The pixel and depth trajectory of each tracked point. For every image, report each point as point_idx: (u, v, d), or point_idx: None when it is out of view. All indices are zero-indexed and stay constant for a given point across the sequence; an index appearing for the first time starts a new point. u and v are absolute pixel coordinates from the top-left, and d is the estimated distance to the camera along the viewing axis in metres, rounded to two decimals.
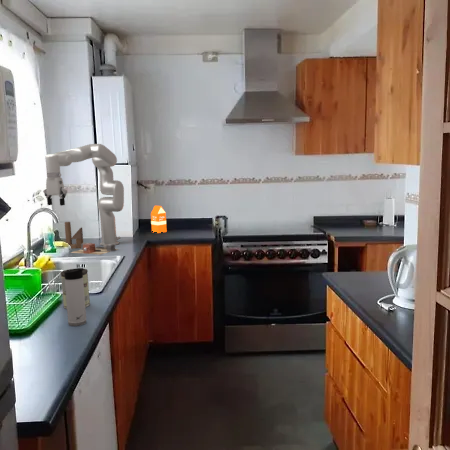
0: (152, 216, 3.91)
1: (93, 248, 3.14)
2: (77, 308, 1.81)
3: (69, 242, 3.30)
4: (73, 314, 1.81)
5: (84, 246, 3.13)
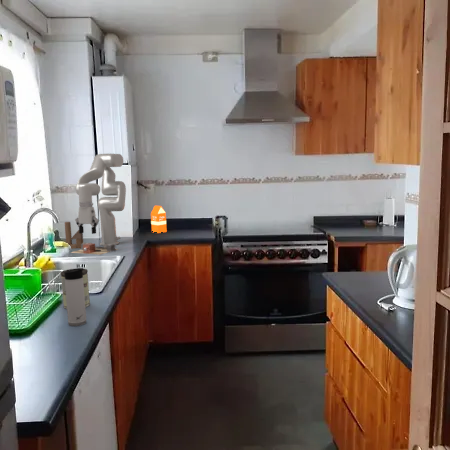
0: (152, 216, 3.91)
1: (93, 248, 3.14)
2: (77, 308, 1.81)
3: (69, 242, 3.30)
4: (73, 314, 1.81)
5: (84, 246, 3.13)
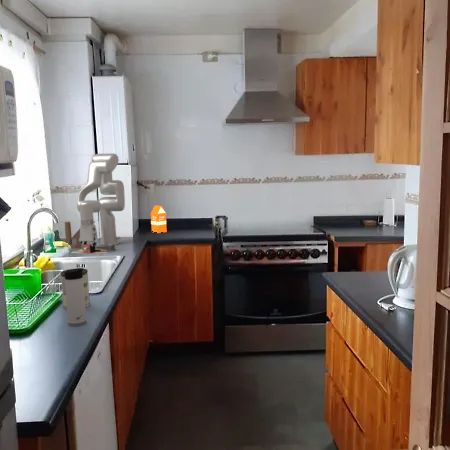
0: (152, 216, 3.91)
1: None
2: (77, 308, 1.81)
3: (69, 242, 3.30)
4: (73, 314, 1.81)
5: (84, 246, 3.13)
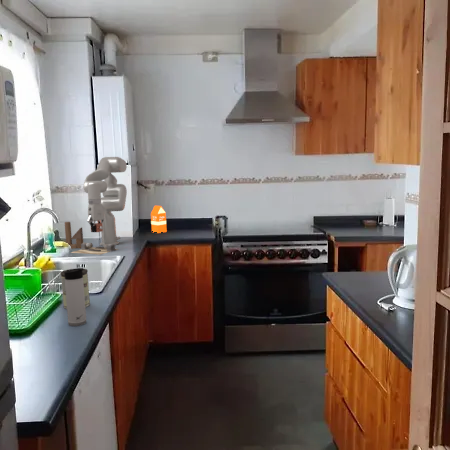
0: (152, 216, 3.91)
1: None
2: (77, 308, 1.81)
3: (69, 242, 3.30)
4: (73, 314, 1.81)
5: None
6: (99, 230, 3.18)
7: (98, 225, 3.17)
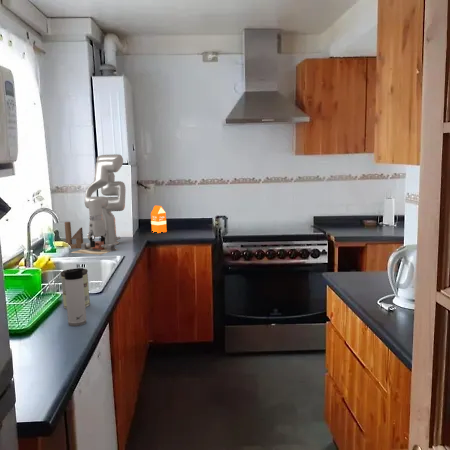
0: (152, 216, 3.91)
1: (96, 246, 3.19)
2: (77, 308, 1.81)
3: (69, 242, 3.30)
4: (73, 314, 1.81)
5: None
6: (100, 248, 3.20)
7: (99, 243, 3.19)
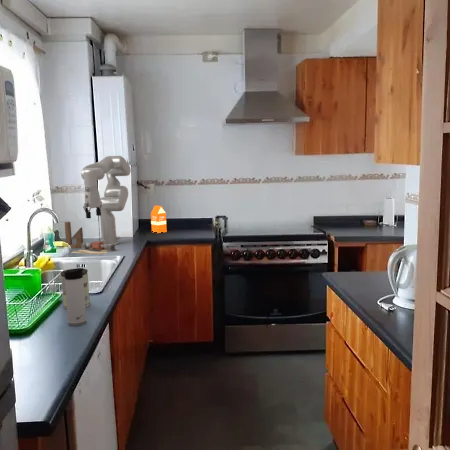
0: (152, 216, 3.91)
1: (96, 246, 3.19)
2: (77, 308, 1.81)
3: (69, 242, 3.30)
4: (73, 314, 1.81)
5: None
6: (100, 248, 3.20)
7: (99, 243, 3.19)
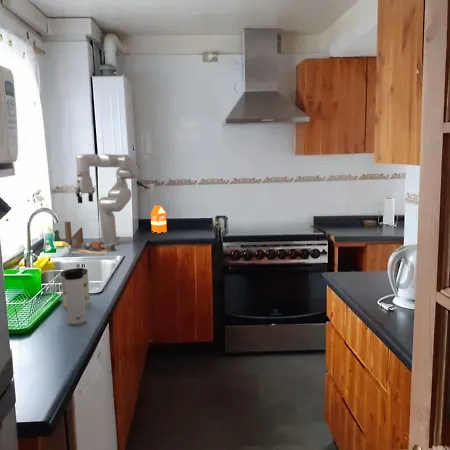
0: (152, 216, 3.91)
1: (96, 246, 3.19)
2: (77, 308, 1.81)
3: (69, 242, 3.30)
4: (73, 314, 1.81)
5: None
6: (100, 248, 3.20)
7: (99, 243, 3.19)
